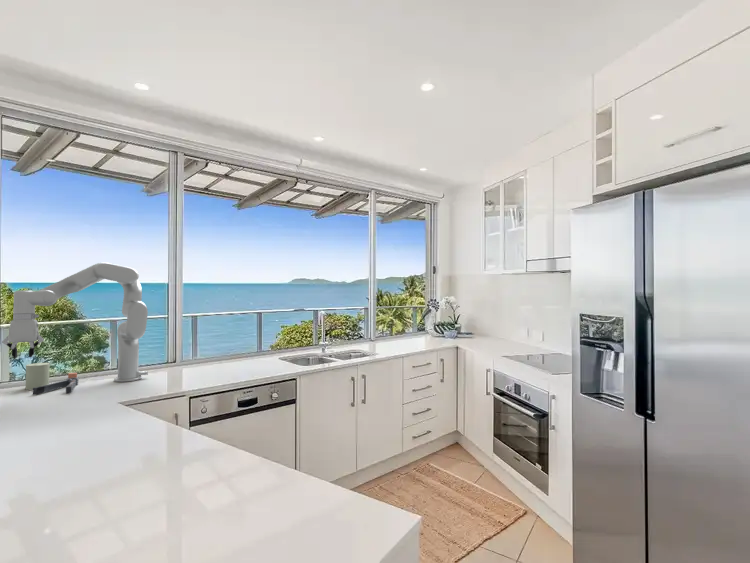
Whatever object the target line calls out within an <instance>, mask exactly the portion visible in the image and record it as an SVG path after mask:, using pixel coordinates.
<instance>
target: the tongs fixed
mask: <svg viewBox="0 0 750 563" xmlns="http://www.w3.org/2000/svg"><path fill="white" fill-rule="evenodd" d="M65 380H69V385H67V387H65V394H72V392H73V391H74V389H75V388H76V386H78V385H79V376H77V377H75V378H68V377H67V378H66V379H65Z"/></svg>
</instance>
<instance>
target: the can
mask: <svg viewBox="0 0 750 563" xmlns="http://www.w3.org/2000/svg"><path fill="white" fill-rule="evenodd" d="M50 364H51V363H50V362H37V363H29V364H25V388H24V389H25V390H26V391H33V388H35V387H39V386H43V385H47V384H50V366H51V365H50Z"/></svg>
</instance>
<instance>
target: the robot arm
mask: <svg viewBox="0 0 750 563" xmlns="http://www.w3.org/2000/svg"><path fill="white" fill-rule="evenodd" d="M139 277H140V275H139V272H138V271H137V270H136V269H135V268H133V267H129V266H124V265H121V264H114V263H110V262H98V263H95V264H93V265H91V266H89V267H86V268H83V269H82V270H79V271H78V272H76V273H73V274H71V275H69V276H67V277H65V278H63V279H61V280H59V281H57V282H55V283H53V284H50V285H48V286H46V287H43V288H41V289H39V290H36V291H34V290H16V291H14V293H13V309H12V311H13V316H12V317H13V318H12V319H13V320H10V324H9V329H8V335H7V336H6V337H5V338H4V339H3V340H2V341H1V343H2V344H4V345H6V346H7V347H9V348H10V349H11V356H12V357H13V359H16V358H17V357H18V348H17V346H18V343H29V346H30V347H29V349H28V357H29V358H32V357H33V356H34V355H35V348H36V347H37V346H38V345H39V344H41V343H42V342H44V340H45V339H44V338H43V337H42V336H41V335H40V334H39V332H40V331H39V324H38V323H39V322H38V320H37V319H36V318H39V317H40V315H39V314H36V306H42V307H50V306H53V305H55V304H56V303H57V301H58V299H60V298H61V299H62V297H65V296H69V295H70V294H75V293H79V292H81V291H83V290H86V288H89V287H91V286H92V285H95V284H96V283H99V282H102V280H108V281H113V282H117V283H118V284H120V285H121V287H122V289H123V301H122V306H121V307H122V308H121V314H122V315H123V316H124V317H125V318H126V321H122V322H121V323H120V324H119V325H118V327H117V332H116V333H117V340H118V341H117V343H118V345H117V346H118V347H117V350H118V351H117V377H114V378H113V381H114V382H118V383H119V382H120V383H121V382H122V383H124V382H134V381H139V380H141V379H142V376H148V375H149V371H148V370H147V371H145V370H144V371H141V370H140V369H139V360H140V359H139V358H140V357H139V353H140V351H139V349H140V346H139V344H140V343H139V339H141V338H142V337H143V336H144V335H145V333H146V332H147V331H146V330H147V321H148V315H149V314H148V313H149V312H148V310H149V309H148V307H147V304H145V302H143V301H142V299H143V298H142V297H143V296H142V294H143V288H142V285H141V282H140V281H139Z"/></svg>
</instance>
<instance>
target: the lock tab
mask: <svg viewBox="0 0 750 563" xmlns="http://www.w3.org/2000/svg"><path fill="white" fill-rule="evenodd" d="M67 376H68V377H67V378H75V377H78V372H69V373H67Z"/></svg>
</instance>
